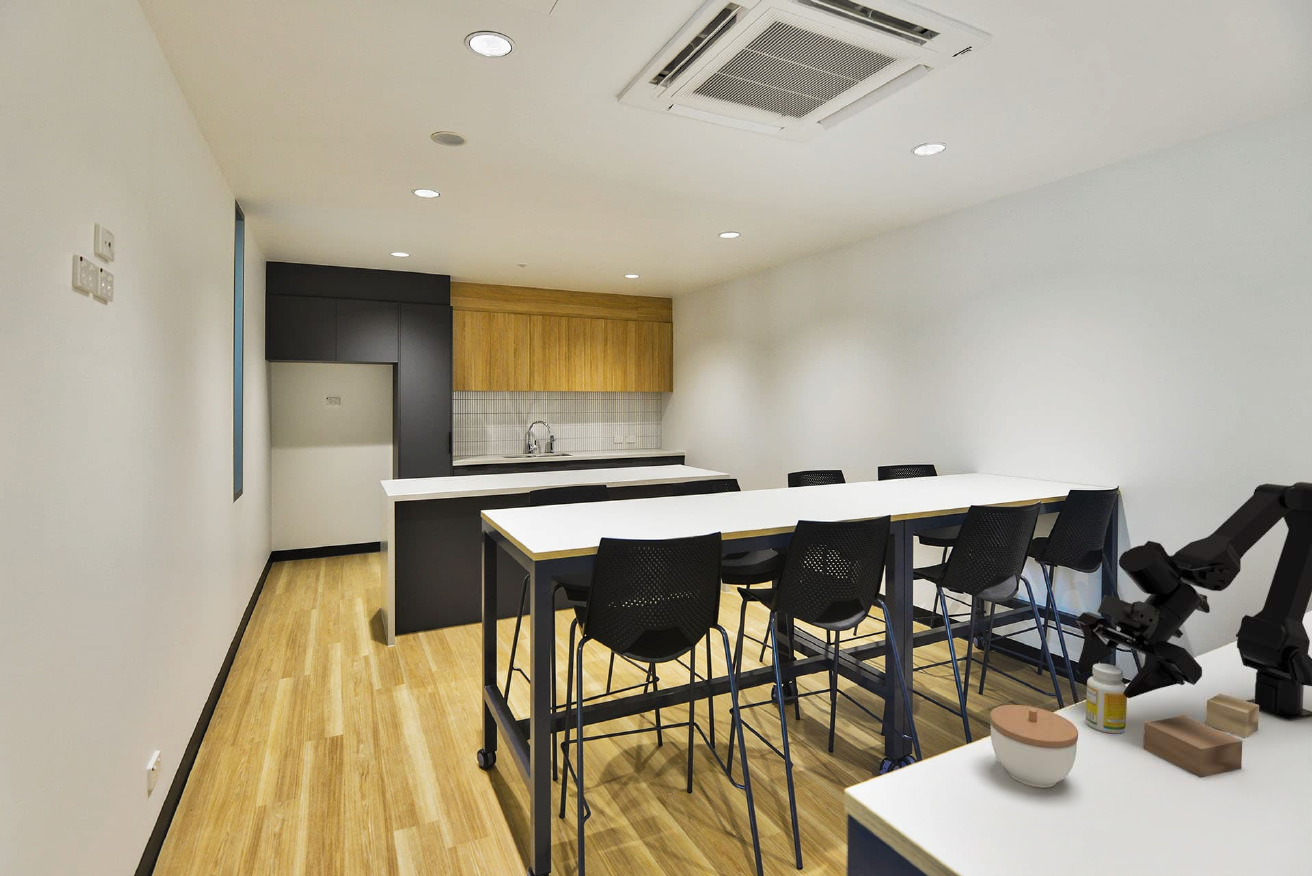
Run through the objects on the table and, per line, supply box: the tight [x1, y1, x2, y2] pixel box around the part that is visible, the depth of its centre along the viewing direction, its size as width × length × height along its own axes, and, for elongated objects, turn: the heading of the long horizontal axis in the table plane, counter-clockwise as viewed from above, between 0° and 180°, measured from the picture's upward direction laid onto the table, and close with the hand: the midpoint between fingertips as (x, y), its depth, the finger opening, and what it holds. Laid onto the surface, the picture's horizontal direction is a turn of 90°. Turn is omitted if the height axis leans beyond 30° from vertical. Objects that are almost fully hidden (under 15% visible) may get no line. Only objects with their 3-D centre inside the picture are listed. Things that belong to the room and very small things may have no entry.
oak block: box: [1205, 693, 1260, 739], centre depth 106 cm, size 5×5×4 cm
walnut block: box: [1143, 715, 1243, 778], centre depth 97 cm, size 8×8×4 cm
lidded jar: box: [989, 704, 1079, 789], centre depth 92 cm, size 11×11×9 cm
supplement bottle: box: [1085, 663, 1128, 734], centre depth 106 cm, size 5×5×10 cm
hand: (1101, 683), depth 106 cm, fingers open, 9 cm apart
